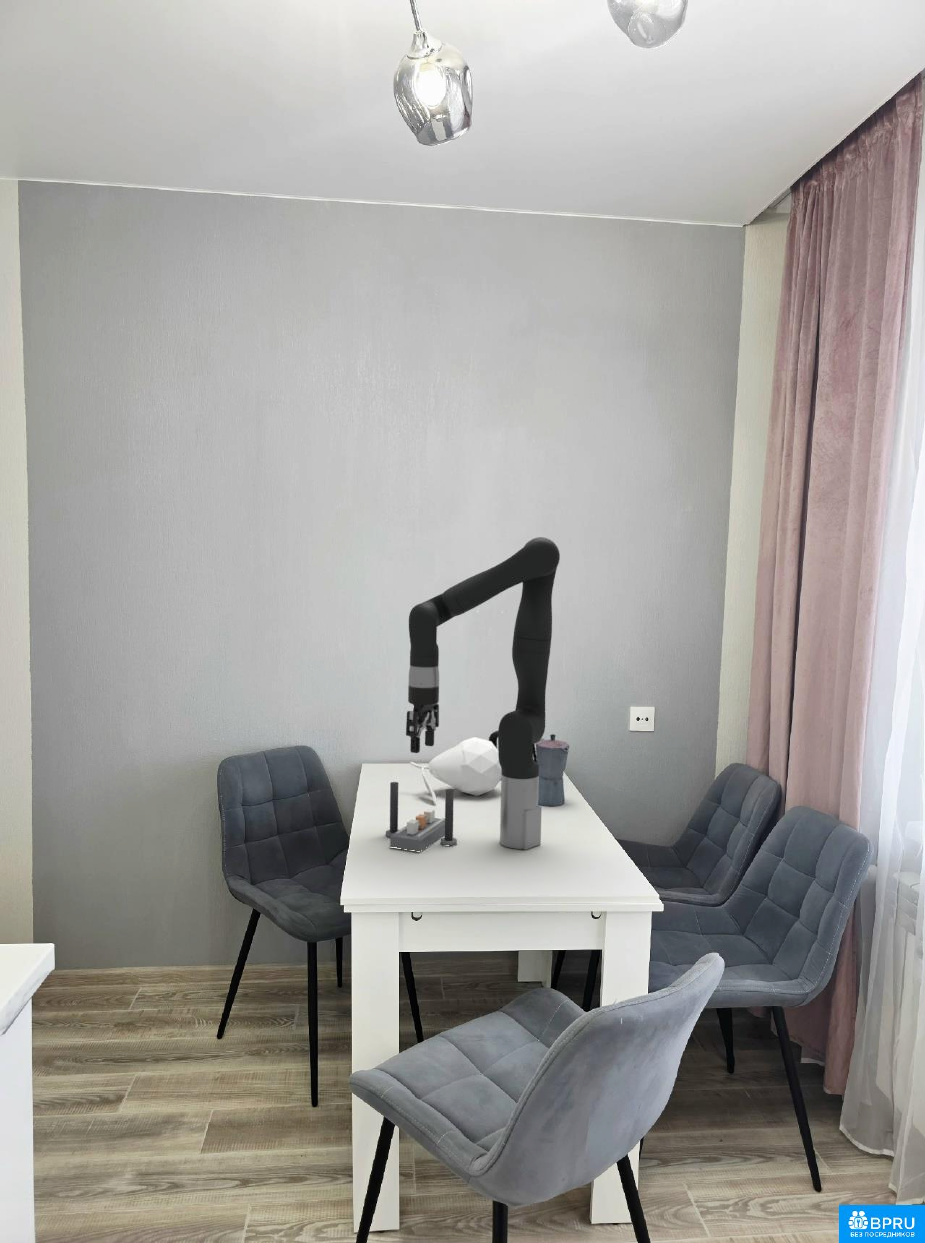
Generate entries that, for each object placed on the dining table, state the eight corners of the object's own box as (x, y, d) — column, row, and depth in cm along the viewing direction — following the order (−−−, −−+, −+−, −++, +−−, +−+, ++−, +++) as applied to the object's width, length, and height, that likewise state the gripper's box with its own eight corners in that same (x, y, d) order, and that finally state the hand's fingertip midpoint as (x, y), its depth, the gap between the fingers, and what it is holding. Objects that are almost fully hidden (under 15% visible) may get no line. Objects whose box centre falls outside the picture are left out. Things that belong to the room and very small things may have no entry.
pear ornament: (503, 725, 270) (410, 727, 265) (516, 784, 253) (416, 787, 249) (496, 761, 280) (406, 764, 276) (508, 820, 264) (412, 824, 259)
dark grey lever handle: (404, 835, 227) (405, 783, 226) (393, 839, 224) (394, 785, 223) (393, 832, 230) (394, 780, 229) (382, 835, 227) (383, 782, 226)
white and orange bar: (413, 834, 218) (413, 823, 218) (406, 833, 219) (407, 822, 218) (434, 820, 230) (434, 809, 229) (428, 819, 230) (428, 808, 230)
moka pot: (556, 811, 251) (557, 740, 250) (517, 799, 263) (518, 731, 261) (578, 805, 258) (580, 735, 256) (539, 793, 269) (541, 727, 268)
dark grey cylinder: (460, 843, 222) (461, 789, 221) (449, 847, 219) (450, 792, 218) (448, 840, 225) (449, 786, 223) (437, 843, 222) (438, 789, 220)
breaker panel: (420, 852, 215) (420, 838, 214) (390, 848, 218) (390, 833, 217) (449, 831, 231) (449, 817, 231) (421, 827, 234) (421, 813, 234)
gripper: (425, 689, 213) (424, 756, 215) (449, 681, 227) (447, 745, 228) (397, 686, 216) (395, 753, 217) (421, 679, 229) (420, 742, 231)
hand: (422, 749), depth 223 cm, fingers open, 8 cm apart
